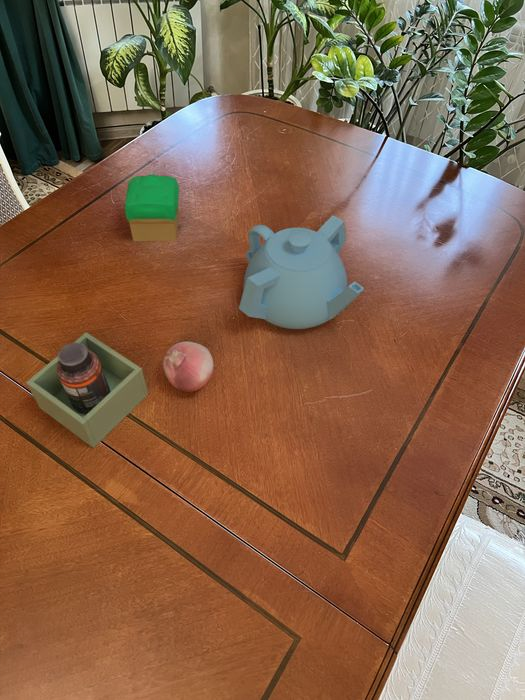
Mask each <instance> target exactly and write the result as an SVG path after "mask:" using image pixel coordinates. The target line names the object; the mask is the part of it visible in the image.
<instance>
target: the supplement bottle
mask: <svg viewBox="0 0 525 700" xmlns="http://www.w3.org/2000/svg"><path fill="white" fill-rule="evenodd" d="M57 356H58V359H59V361H58V364H57V374H58V377H59V379H60V381H61V383H62V385H63V387H64V389H65V391H66V394H67V396H68V398H69V400H70V402H71V404H72V406H73V407H74V408H75V409H76V410H77V411H78V412H80V413H84V414H88V413H89V412H90V411H91V410H92V409H93V408H94V407H95V406H96V405H97V404H98V403H99V402H101V401H102V400H103V399H104V398H105V397H106V396H107V395H108V394H109V393H110V392H111V391H110V388H109V385H108V382H107V380H106V377H105V374H104V371H103V369H102V366H101V363H100V361H99V359H98V357H97V355H96V354H95V353H93V352H92V351H90V350H88V349H87V348H86V346H85V345H83V344H81V343H74V342H70V343H68V344H65V345H64V346H63V347H61V349H60V350H59V352H58V353H57Z"/></svg>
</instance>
